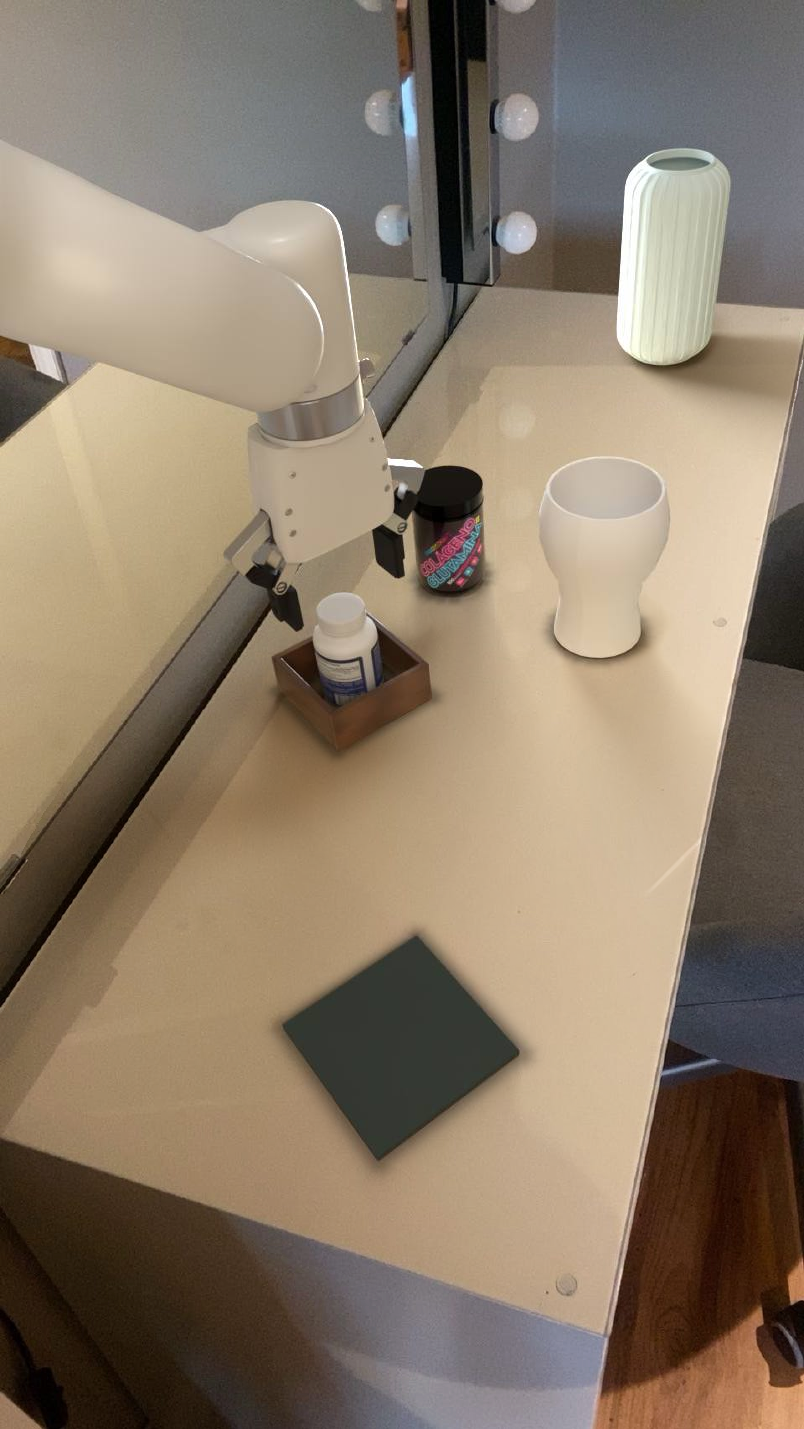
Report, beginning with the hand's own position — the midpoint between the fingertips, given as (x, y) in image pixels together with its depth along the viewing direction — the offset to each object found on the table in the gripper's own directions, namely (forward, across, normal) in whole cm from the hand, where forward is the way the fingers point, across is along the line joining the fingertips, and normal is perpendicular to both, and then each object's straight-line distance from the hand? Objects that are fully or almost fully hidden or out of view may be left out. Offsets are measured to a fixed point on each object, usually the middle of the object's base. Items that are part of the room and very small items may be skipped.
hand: (341, 595), depth 84 cm
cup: (+11, -21, +8) cm, 25 cm away
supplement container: (+11, -16, -7) cm, 21 cm away
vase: (+12, -64, -26) cm, 70 cm away
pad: (+10, +16, +29) cm, 35 cm away
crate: (+11, 0, 0) cm, 11 cm away
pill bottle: (+11, 0, 0) cm, 11 cm away
